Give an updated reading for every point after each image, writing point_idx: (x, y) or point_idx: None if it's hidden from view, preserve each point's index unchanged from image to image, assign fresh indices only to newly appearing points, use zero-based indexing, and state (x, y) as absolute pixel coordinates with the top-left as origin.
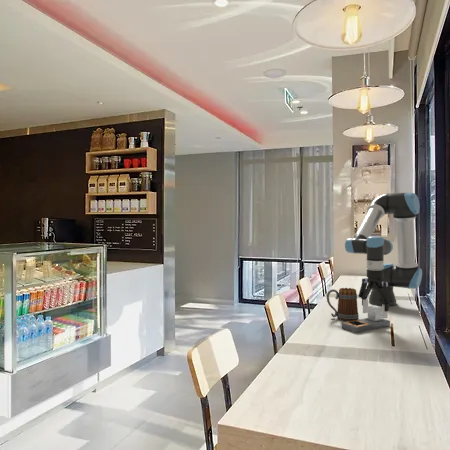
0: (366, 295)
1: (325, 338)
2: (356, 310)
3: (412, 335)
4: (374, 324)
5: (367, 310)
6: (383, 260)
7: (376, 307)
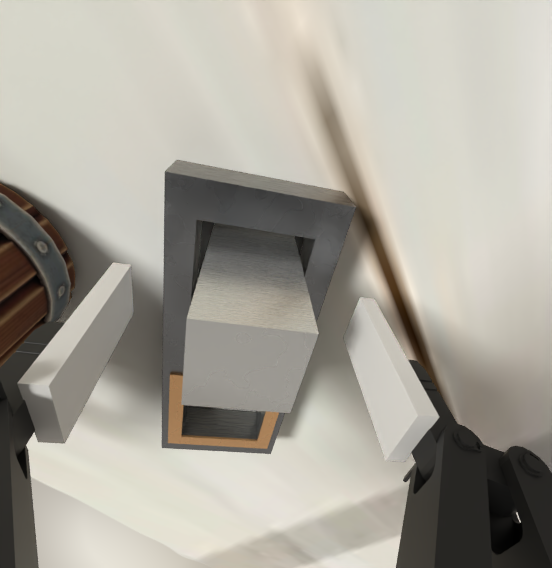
0: (26, 503)
1: (232, 509)
2: (8, 293)
3: (528, 280)
4: None
5: (122, 284)
6: None
7: (282, 389)
